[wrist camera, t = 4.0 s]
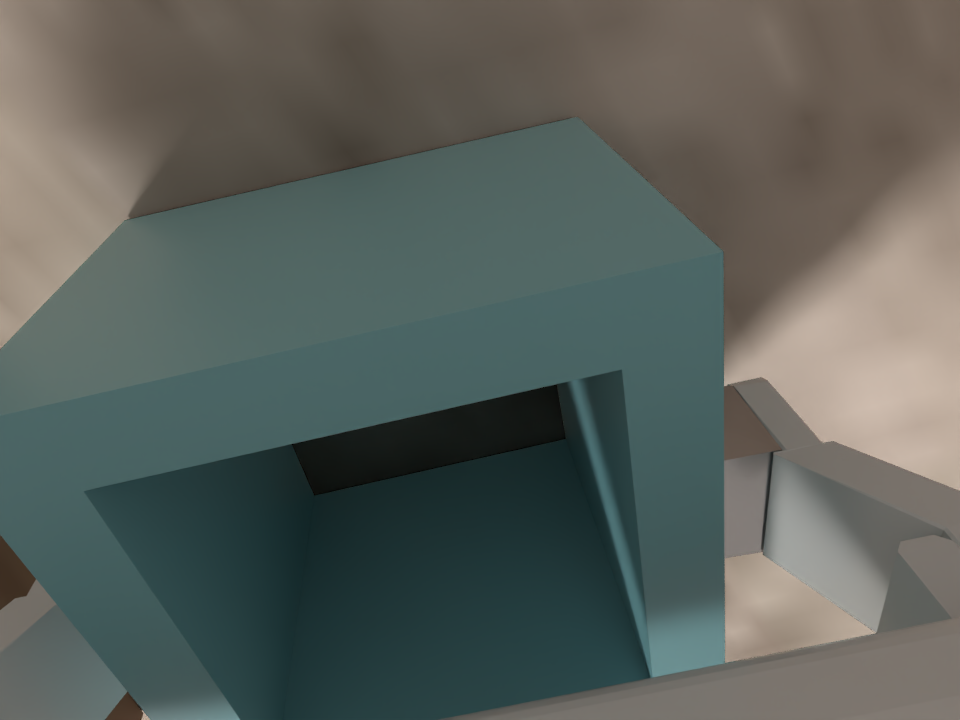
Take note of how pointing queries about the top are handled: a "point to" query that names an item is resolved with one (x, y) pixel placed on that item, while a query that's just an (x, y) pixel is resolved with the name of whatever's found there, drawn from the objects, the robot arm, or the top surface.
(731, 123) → the top surface
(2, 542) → the post stand
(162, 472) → the teal collar
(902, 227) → the top surface
